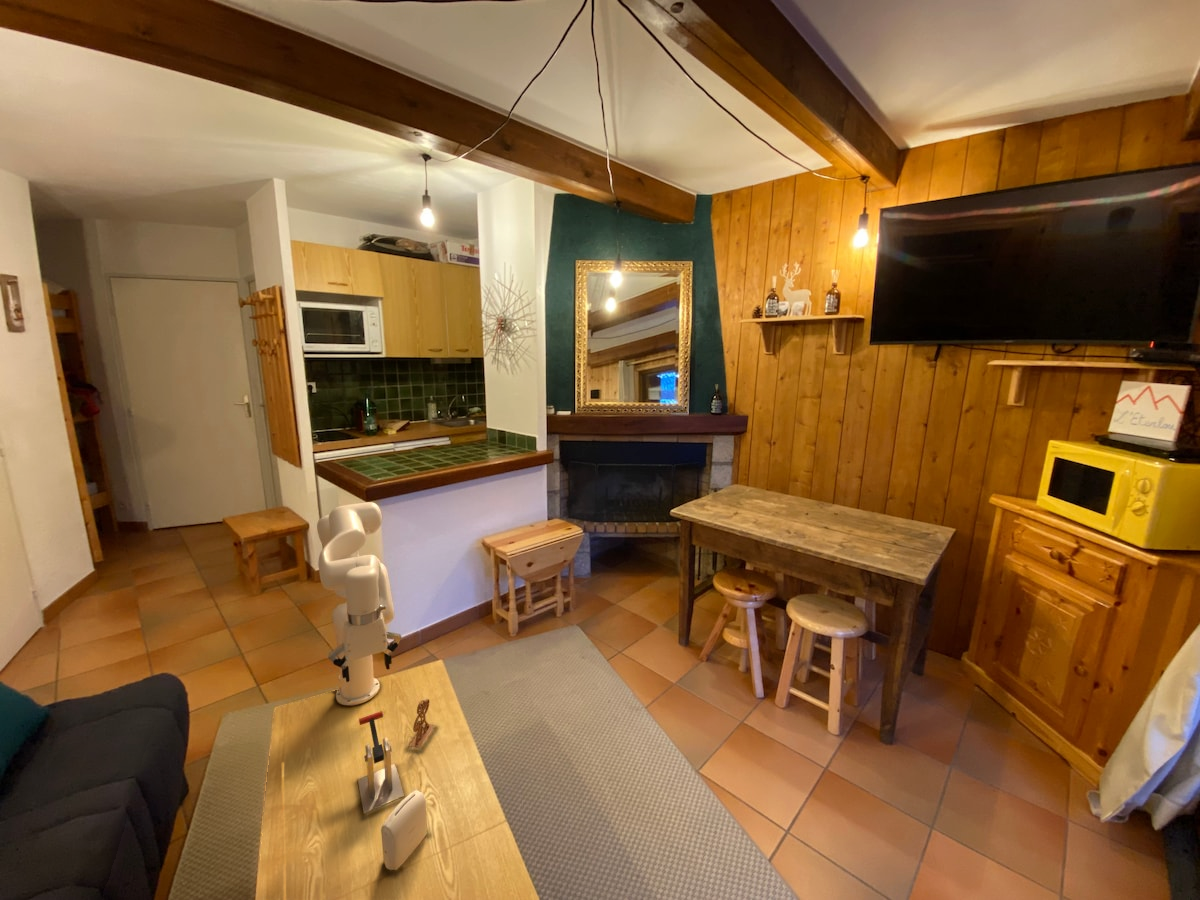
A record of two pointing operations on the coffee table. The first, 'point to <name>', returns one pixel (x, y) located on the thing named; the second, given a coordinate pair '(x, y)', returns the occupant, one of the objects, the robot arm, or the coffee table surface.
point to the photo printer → (404, 830)
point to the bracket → (379, 781)
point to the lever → (374, 735)
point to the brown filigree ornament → (422, 732)
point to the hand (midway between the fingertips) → (367, 672)
